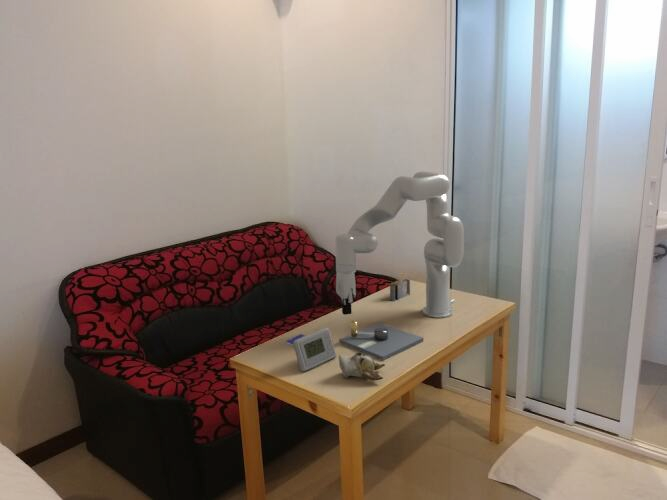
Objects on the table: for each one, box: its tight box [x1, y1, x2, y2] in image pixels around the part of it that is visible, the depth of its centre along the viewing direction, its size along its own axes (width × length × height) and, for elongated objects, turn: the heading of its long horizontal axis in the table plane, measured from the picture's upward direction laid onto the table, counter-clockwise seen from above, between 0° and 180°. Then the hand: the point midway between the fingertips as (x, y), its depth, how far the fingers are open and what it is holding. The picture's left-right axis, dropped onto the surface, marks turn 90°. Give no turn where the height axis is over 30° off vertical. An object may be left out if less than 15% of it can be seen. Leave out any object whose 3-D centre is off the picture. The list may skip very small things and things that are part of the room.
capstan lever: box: [350, 320, 388, 340], centre depth 207 cm, size 14×5×6 cm, turn 83°
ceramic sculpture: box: [338, 352, 386, 382], centre depth 181 cm, size 11×9×15 cm
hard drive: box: [285, 333, 306, 347], centre depth 209 cm, size 2×8×12 cm
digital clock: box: [293, 327, 337, 372], centre depth 192 cm, size 16×9×11 cm, turn 123°
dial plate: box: [338, 322, 424, 361], centre depth 208 cm, size 22×22×2 cm
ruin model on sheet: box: [389, 278, 411, 302], centre depth 254 cm, size 11×3×10 cm, turn 135°
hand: (346, 313), depth 213 cm, fingers closed
